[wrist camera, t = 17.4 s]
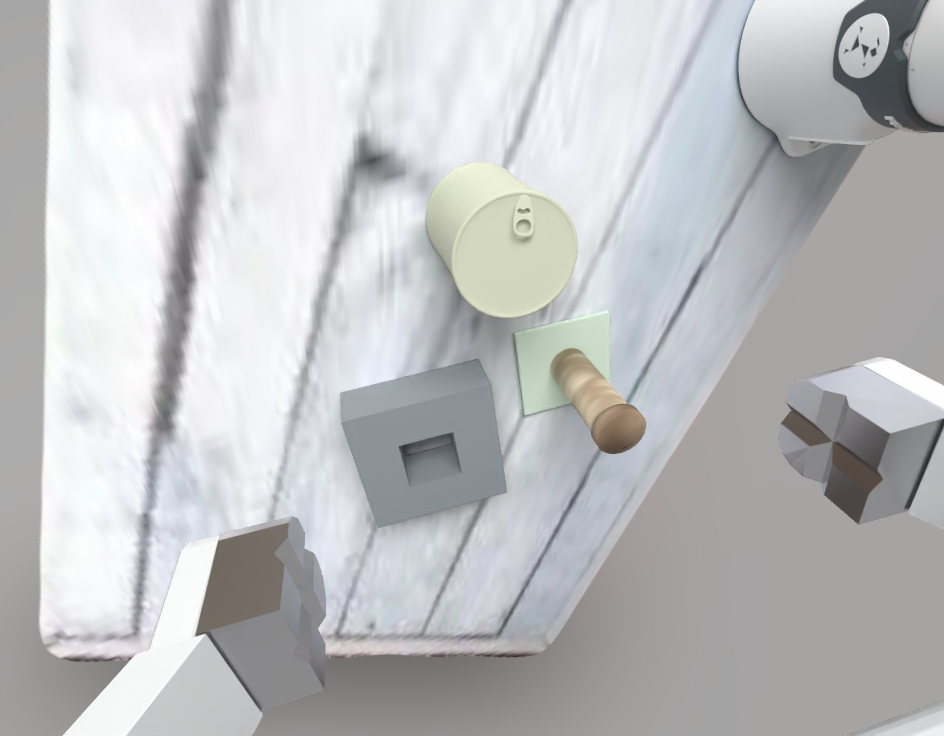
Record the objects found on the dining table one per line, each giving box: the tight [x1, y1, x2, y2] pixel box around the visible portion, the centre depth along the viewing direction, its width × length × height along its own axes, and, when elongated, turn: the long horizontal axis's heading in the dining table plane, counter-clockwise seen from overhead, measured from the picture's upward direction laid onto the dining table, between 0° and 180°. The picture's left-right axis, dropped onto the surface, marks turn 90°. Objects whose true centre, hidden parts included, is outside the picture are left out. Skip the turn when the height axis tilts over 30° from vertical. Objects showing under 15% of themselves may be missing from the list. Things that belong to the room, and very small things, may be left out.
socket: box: [341, 359, 507, 528], centre depth 54 cm, size 14×14×5 cm
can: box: [426, 162, 578, 318], centre depth 41 cm, size 9×9×12 cm
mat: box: [514, 310, 610, 415], centre depth 55 cm, size 10×10×1 cm
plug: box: [550, 348, 646, 454], centre depth 50 cm, size 5×5×12 cm
